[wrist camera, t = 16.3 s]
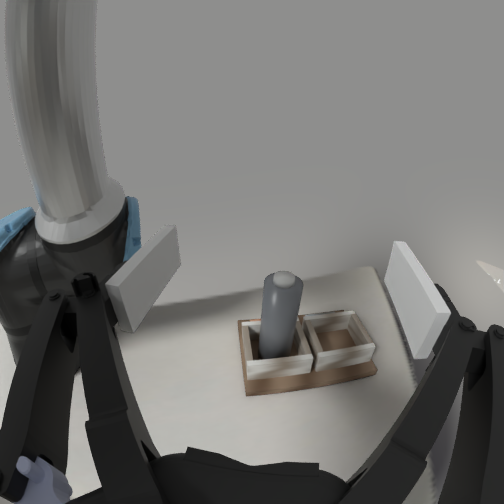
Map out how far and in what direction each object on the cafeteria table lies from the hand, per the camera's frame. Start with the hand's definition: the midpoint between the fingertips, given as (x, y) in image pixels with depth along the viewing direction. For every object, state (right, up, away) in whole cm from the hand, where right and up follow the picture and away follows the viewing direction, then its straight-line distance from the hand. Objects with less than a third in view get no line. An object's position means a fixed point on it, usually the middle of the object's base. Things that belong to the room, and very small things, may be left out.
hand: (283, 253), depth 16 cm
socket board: (+6, -14, +22) cm, 27 cm away
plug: (+1, -14, +20) cm, 25 cm away
